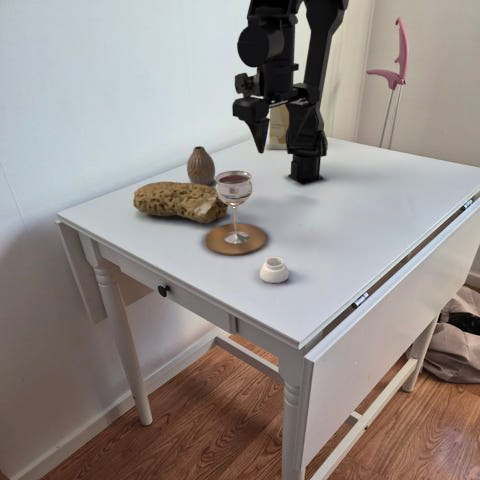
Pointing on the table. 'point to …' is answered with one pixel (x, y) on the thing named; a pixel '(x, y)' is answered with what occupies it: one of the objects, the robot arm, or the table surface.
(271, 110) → the cosmetic box
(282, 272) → the lidless jar
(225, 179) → the wineglass
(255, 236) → the coaster
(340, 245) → the table surface
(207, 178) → the vase
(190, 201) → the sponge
